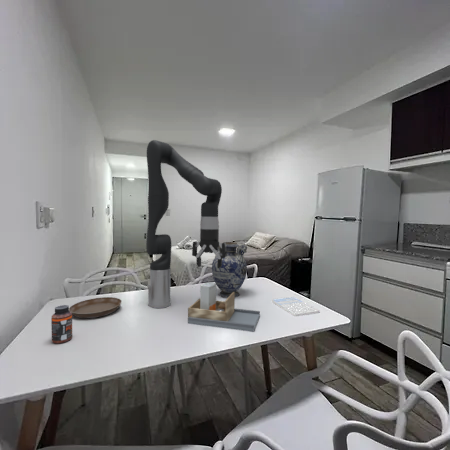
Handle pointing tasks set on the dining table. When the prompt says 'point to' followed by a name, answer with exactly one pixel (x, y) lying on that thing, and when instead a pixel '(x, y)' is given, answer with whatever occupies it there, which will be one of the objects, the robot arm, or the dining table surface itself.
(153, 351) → the dining table surface
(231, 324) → the rail board
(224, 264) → the decorative vase
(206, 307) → the skincare box
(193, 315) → the wooden drawer
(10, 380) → the dining table surface
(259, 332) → the dining table surface
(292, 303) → the white flat textured slab
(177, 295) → the dining table surface
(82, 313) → the plant saucer
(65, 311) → the supplement bottle
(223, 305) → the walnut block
